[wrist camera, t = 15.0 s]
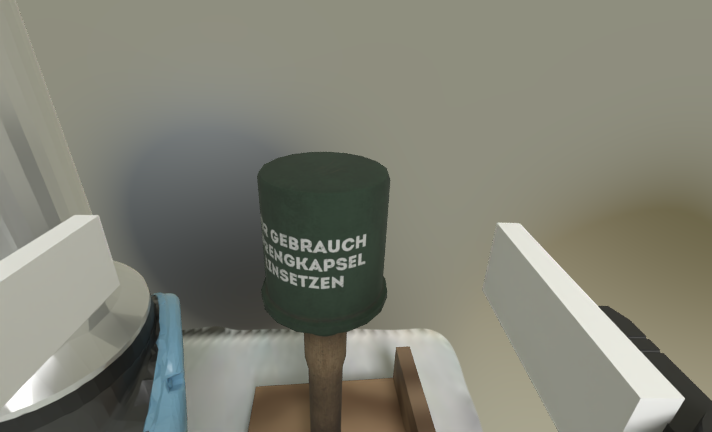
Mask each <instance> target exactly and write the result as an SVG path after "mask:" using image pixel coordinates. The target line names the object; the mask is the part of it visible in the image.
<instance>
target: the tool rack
mask: <svg viewBox="0 0 712 432" xmlns="http://www.w3.org/2000/svg"><path fill="white" fill-rule="evenodd" d="M248 432H311V429H310V397H309V383H306V384H291V385H275V386H260V387H256V389H255V395H254V400H253V406H252V412H251V417H250V423H249V429H248ZM341 432H436V431H435V428H434V424H433V421H432V418H431V415H430V411H429V408H428V405H427V402H426V398H425V395H424V392H423V389H422V385H421V382H420V379H419V376H418V372H417V369H416V366H415V363H414V359H413V356H412V353H411V350H410V347H396V353H395V363H394V373H393V378H384V379H369V380H353V381H342V409H341Z"/></svg>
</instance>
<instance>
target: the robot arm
mask: <svg viewBox="0 0 712 432" xmlns="http://www.w3.org/2000/svg"><path fill="white" fill-rule="evenodd" d="M482 290H483V292H484V294H485V296H486V298H487V300H488V301H489V303H490V305H491V307H492V309H493V311H494V313H495V315H496V316H497V318H498V320H499V322H500V324H501V326H502V328H503V329H504V331H505V333H506V335H507V337H508V339H509V341H510V343H511V344H512V346H513V348H514V350H515V352H516V354H517V356H518V357H519V359H520V361H521V363H522V365H523V367H524V369H525V370H526V372H527V374H528V376H529V378H530V380H531V382H532V383H533V385H534V387H535V389H536V391H537V393H538V395H539V396H540V398H541V400H542V402H543V404H544V406H545V408H546V410H547V411H548V413H549V415H550V417H551V419H552V421H553V423H554V425H555V426H556V428H557V430H558V432H712V401H711V400H710V399H709V398H708V397H707V396H706V395H705V394H704V393H703V392H702V391H701V390H700V389H699V388H698V387H697V386H696V385H695V384H694V383H693V382H692V381H691V380H690V379H689V378H688V377H687V376H686V375H685V374H684V373H683V372H682V371H681V370H680V369H679V368H678V367H677V366H676V365H675V364H674V363H673V362H672V361H671V360H670V359H669V358H668V357H667V356H666V355H665V354H664V353H660V349H659V348H658V347H657V346H656V345H655V344H654V343H652V342H651V340H649V339H646V336H645V335H644V334H643V333H642V332H641V331H640V330H639V329H638V328H637V327H636V326H635V325H634V324H633V323H632V322H631V321H630V320H629V319H627V318H626V317H624V316H623V315H621V314H620V313H618V312H616V311H615V310H613V309H612V308H610V307H608V306H597V305H596V304H595V303H594V302H593V301H592V299H591V298H589V296H588V295H587V294H586V293H585V292H584V291H583V290H582V289H581V288H580V287H579V286H578V285H577V284H576V283H575V282H574V280H573V279H572V278H571V277H569V275H568V274H567V273H566V272H565V271H564V270H563V269H562V268H561V267H560V266H559V265H558V264H557V262H556V261H555V260H554V259H553V258H552V257H551V256H550V255H549V254H548V253H547V252H546V251H545V250H544V249H543V248H542V247H541V245H539V243H538V242H537V241H536V240H535V239H534V238H533V237H532V236H531V235H530V234H529V233H528V232H527V231H526V230H525V229H524V227H523V226H521V224H520V223H497V224H496V230H495V234H494V238H493V243H492V247H491V252H490V257H489V261H488V266H487V270H486V275H485V279H484V284H483V289H482ZM184 374H185V372H184V353H183V337H182V323H181V309H180V300H179V298H178V297H177V296H176V295H175V294H172V293H167V294H163V293H160V292H159V293H154V294H153V295H150V291H149V288H148V286H147V284H146V282H145V280H144V278H143V277H142V276H141V275H140V274H139V273H138V272H137V271H136V270H134V269H133V268H131V267H129V266H127V265H125V264H123V263H119V262H116V261H113V260H112V257H111V253H110V250H109V247H108V244H107V240H106V237H105V234H104V231H103V227H102V224H101V221H100V218H99V215H92V212H91V209H90V207H89V204H88V201H87V198H86V195H85V193H84V190H83V187H82V184H81V182H80V179H79V176H78V173H77V170H76V168H75V165H74V162H73V159H72V156H71V153H70V150H69V148H68V145H67V142H66V139H65V136H64V134H63V131H62V128H61V126H60V122H59V120H58V117H57V114H56V111H55V108H54V106H53V103H52V100H51V97H50V94H49V92H48V89H47V86H46V83H45V80H44V78H43V75H42V72H41V69H40V67H39V64H38V61H37V58H36V55H35V53H34V50H33V47H32V44H31V41H30V38H29V36H28V33H27V30H26V27H25V24H24V22H23V19H22V16H21V13H20V10H19V8H18V5H17V2H16V0H0V432H187V408H186V391H185V378H184Z"/></svg>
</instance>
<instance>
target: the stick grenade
mask: <svg viewBox="0 0 712 432" xmlns="http://www.w3.org/2000/svg"><path fill="white" fill-rule="evenodd" d="M257 179H258V191H259V203H260V214H261V225H262V238H263V250H264V261H265V273H266V278H265V281H264V284H263V287H262V289H261V291H262V299H263V303H264V307H265V310H266V311H267V312H268V313H269V314H270V315H271V317H272V318H273V319H274V320H275V321H276V322H277V323H279V324H281V325H283V326H286V327H288V328H290V329H292V330H294V331H296V332H303V333H304V346H305V359H306V362H307V365H308V368H309V397H310V429H311V432H341V409H342V367H343V363H344V360H345V357H346V338H347V332H348V331H350V330H353V329H355V328H358V327H360V326H363V325H365V324H367V323H368V322H369V321H371V320H372V319H373V318H374V317H375V316H376V315H378V314H379V313H380V312H381V310H382V308H383V305H384V303H385V300H386V298H387V288H386V281H385V278H384V277H383V269H384V256H385V243H386V230H387V216H388V203H389V189H390V178H389V174H388V171H387V168H385V167H384V166H383V165H381V164H380V163H378V162H376V161H374V160H371V159H368V158H365V157H362V156H358V155H352V154H347V153H334V152H309V153H301V154H292V155H288V156H285V157H280V158H277V159H275V160H273V161H271V162H269V163H267V164H265V165H263V167H262V168H261V170H260V171H259V173H258V176H257Z"/></svg>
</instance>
